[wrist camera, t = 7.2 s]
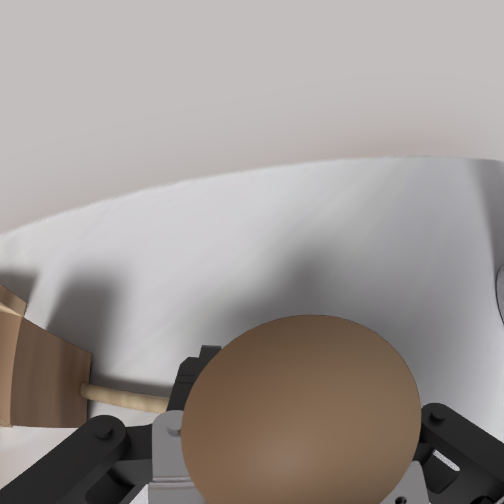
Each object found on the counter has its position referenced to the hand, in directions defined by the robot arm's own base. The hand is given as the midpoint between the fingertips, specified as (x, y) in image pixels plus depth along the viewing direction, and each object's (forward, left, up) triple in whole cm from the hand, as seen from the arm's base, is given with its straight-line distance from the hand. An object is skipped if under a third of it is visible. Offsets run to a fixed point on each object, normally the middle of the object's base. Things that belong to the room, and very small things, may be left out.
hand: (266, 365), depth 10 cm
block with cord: (+7, +2, -5) cm, 9 cm away
